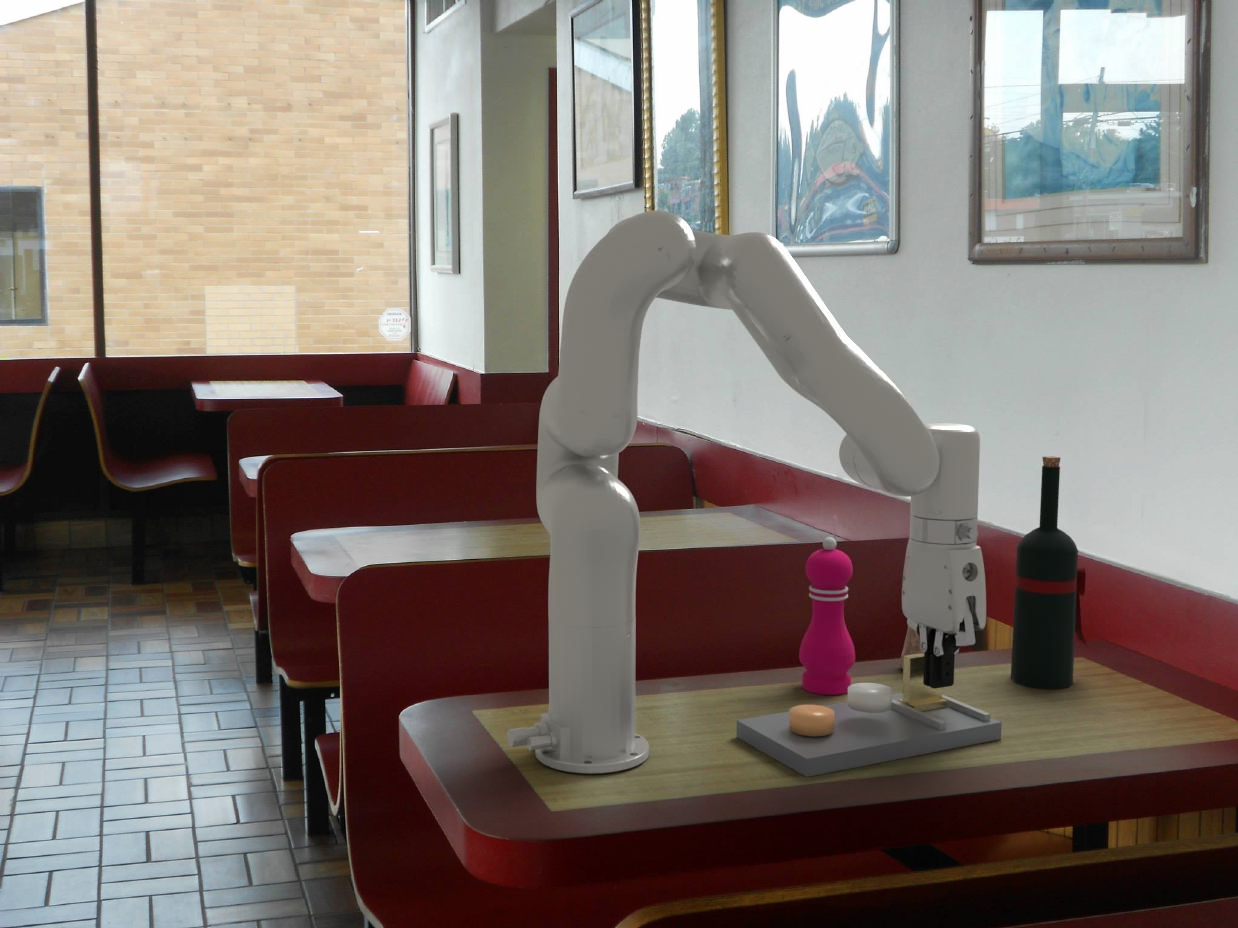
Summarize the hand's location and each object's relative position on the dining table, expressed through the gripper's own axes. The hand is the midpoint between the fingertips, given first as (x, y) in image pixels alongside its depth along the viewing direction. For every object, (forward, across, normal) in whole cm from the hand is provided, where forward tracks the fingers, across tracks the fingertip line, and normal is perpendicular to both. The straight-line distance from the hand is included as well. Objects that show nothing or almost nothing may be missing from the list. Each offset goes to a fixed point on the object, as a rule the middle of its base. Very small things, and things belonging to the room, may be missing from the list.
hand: (938, 684), depth 148 cm
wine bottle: (+6, +10, -27) cm, 29 cm away
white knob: (+2, +1, +9) cm, 9 cm away
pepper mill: (+6, +19, +2) cm, 20 cm away
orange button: (+3, +1, +17) cm, 17 cm away
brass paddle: (+3, +3, 0) cm, 4 cm away
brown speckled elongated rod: (+6, +21, -15) cm, 26 cm away
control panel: (+5, +1, +9) cm, 11 cm away
